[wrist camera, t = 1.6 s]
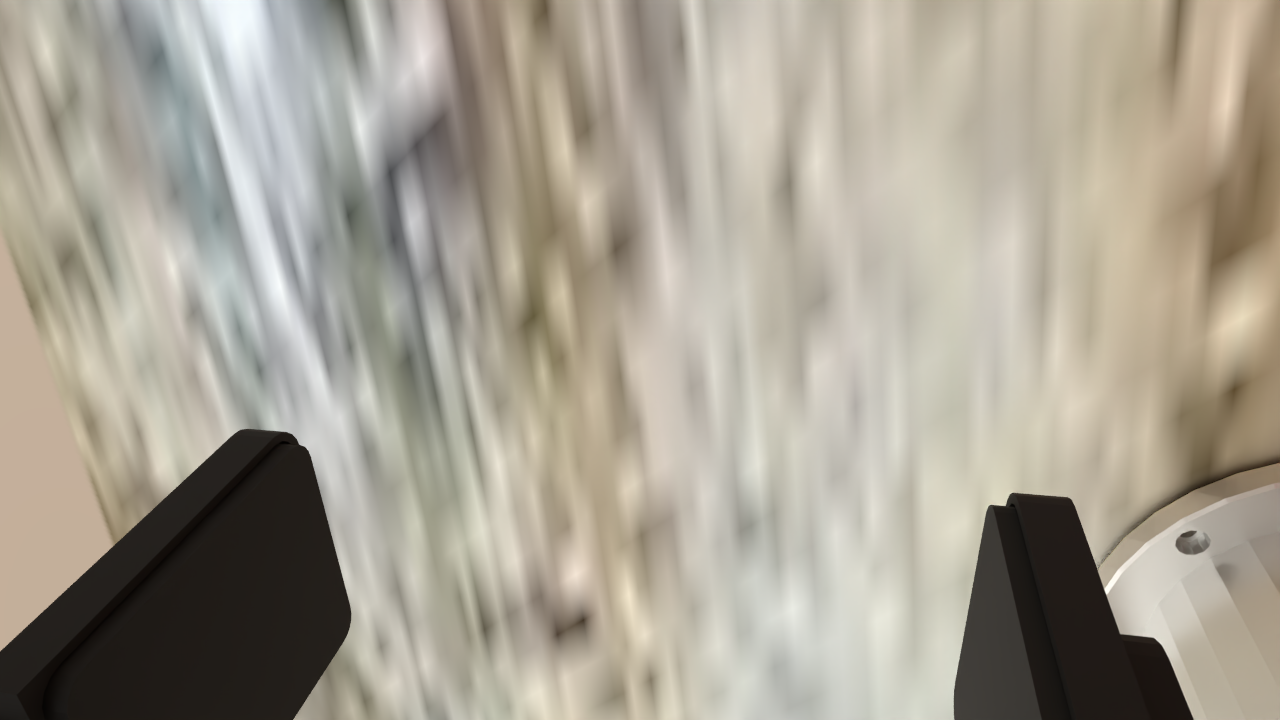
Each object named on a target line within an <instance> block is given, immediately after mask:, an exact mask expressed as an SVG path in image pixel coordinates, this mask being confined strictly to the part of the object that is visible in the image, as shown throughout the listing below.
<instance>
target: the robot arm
mask: <svg viewBox="0 0 1280 720" xmlns="http://www.w3.org/2000/svg"><path fill="white" fill-rule="evenodd" d="M350 623H351V608H350V604H349V600H348V596H347V592H346V589H345V585H344V581H343V577H342V573H341V570H340V566H339V562H338V558H337V555H336V551H335V547H334V543H333V539H332V536H331V532H330V528H329V524H328V521H327V517H326V513H325V509H324V505H323V502H322V498H321V494H320V490H319V486H318V483H317V479H316V475H315V471H314V468H313V464H312V460H311V456H310V454H309V451H308V450H307V449H306V448H305V447H304V446H301V445H299V443H298V441H297V439H296V438H295V437H294V436H293V435H292V434H290V433H287V432H278V431H266V430H254V429H244V430H240V431H238V432H237V433H235V434H234V435H233V436H231V437H230V438H229V439H228V440H227V441H226V442H225V443H224V444H223V445H222V446H221V447H220V448H219V449H218V450H216V451H215V452H214V453H213V454H212V455H211V456H210V457H209V458H208V459H207V460H206V461H205V462H204V463H202V464H201V465H200V466H199V467H198V468H197V469H196V470H195V471H194V472H193V473H192V474H191V475H190V476H188V477H187V478H186V479H185V480H184V481H183V482H182V483H181V484H180V485H179V486H178V487H177V488H176V489H174V490H173V491H172V492H171V493H170V494H169V495H168V496H167V497H166V498H165V499H164V500H163V501H162V502H161V503H159V504H158V505H157V506H156V507H155V508H154V509H153V510H152V511H151V512H150V513H149V514H148V515H147V516H145V517H144V518H143V519H142V520H141V521H140V522H139V523H138V524H137V525H136V526H135V527H134V528H133V529H131V530H130V531H129V532H128V533H127V534H126V535H125V536H124V537H123V538H122V539H121V540H120V541H119V542H117V543H116V544H115V545H114V546H113V547H112V548H111V549H110V550H109V551H108V552H107V553H106V554H105V555H104V556H102V557H101V558H100V559H99V560H98V561H97V562H96V563H95V564H94V565H93V566H92V567H91V568H90V569H89V570H87V571H86V572H85V573H84V574H83V575H82V576H81V577H80V578H79V579H78V580H77V581H76V582H75V583H73V584H72V585H71V586H70V587H69V588H68V589H67V590H66V591H65V592H64V593H63V594H62V595H61V596H59V597H58V598H57V599H56V600H55V601H54V602H53V603H52V604H51V605H50V606H49V607H48V608H47V609H46V610H44V611H43V612H42V613H41V614H40V615H39V616H38V617H37V618H36V619H35V620H34V621H33V622H31V623H30V624H29V625H28V626H27V627H26V628H25V629H24V630H23V631H22V632H21V633H20V634H19V635H18V636H17V637H15V638H14V639H13V640H12V641H11V642H10V643H9V644H8V645H7V646H6V647H5V648H4V649H2V650H1V651H0V720H293V719H294V718H295V716H296V714H297V713H298V711H299V710H300V708H301V707H302V705H303V704H304V702H305V701H306V699H307V697H308V696H309V694H310V693H311V691H312V690H313V688H314V687H315V685H316V684H317V682H318V680H319V679H320V677H321V676H322V674H323V673H324V671H325V670H326V668H327V667H328V665H329V663H330V662H331V660H332V659H333V657H334V656H335V654H336V653H337V651H338V650H339V648H340V646H341V645H342V643H343V642H344V640H345V638H346V636H347V634H348V631H349V628H350ZM954 719H955V720H1280V463H1277V464H1273V465H1269V466H1265V467H1261V468H1257V469H1253V470H1248V471H1244V472H1240V473H1237V474H1234V475H1232V476H1229V477H1227V478H1224V479H1222V480H1219V481H1217V482H1214V483H1211V484H1209V485H1206V486H1204V487H1201V488H1199V489H1196V490H1194V491H1192V492H1190V493H1188V494H1187V495H1185V496H1183V497H1181V498H1180V499H1178V500H1176V501H1174V502H1173V503H1171V504H1169V505H1167V506H1166V507H1164V508H1162V509H1160V510H1159V511H1157V512H1155V513H1154V514H1153V515H1151V516H1150V517H1149V518H1148V519H1146V520H1145V521H1144V522H1143V523H1142V524H1140V525H1139V526H1138V527H1137V528H1135V529H1134V530H1133V531H1132V532H1130V533H1129V534H1128V535H1127V536H1126V537H1124V538H1123V540H1122V541H1121V542H1120V543H1119V544H1118V545H1117V547H1116V548H1115V549H1114V550H1113V551H1112V553H1111V554H1110V555H1109V556H1108V557H1107V558H1106V560H1105V561H1104V562H1103V563H1102V564H1101V566H1100V568H1099V570H1097V567H1096V565H1095V562H1094V559H1093V556H1092V553H1091V550H1090V548H1089V545H1088V542H1087V539H1086V536H1085V534H1084V531H1083V528H1082V525H1081V522H1080V520H1079V517H1078V514H1077V511H1076V508H1075V506H1074V504H1073V502H1072V500H1071V499H1069V498H1068V497H1056V496H1044V495H1032V494H1020V493H1012V494H1010V496H1009V498H1008V500H1007V504H1006V506H996V505H990V506H989V507H988V509H987V513H986V517H985V522H984V528H983V533H982V539H981V544H980V550H979V555H978V561H977V566H976V572H975V577H974V583H973V588H972V594H971V599H970V605H969V610H968V616H967V621H966V627H965V632H964V638H963V643H962V649H961V654H960V660H959V665H958V670H957V676H956V681H955V689H954Z"/></svg>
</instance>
